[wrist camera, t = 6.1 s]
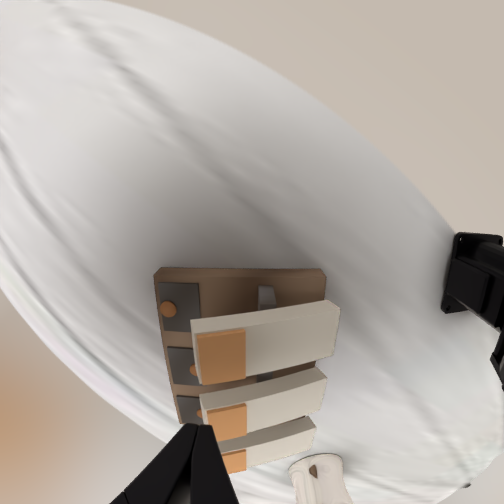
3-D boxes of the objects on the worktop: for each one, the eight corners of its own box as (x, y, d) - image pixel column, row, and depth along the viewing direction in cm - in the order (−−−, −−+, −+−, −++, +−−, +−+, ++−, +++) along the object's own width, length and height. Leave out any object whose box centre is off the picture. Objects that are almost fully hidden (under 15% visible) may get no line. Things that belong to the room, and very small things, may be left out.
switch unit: (320, 268, 17) (338, 293, 13) (300, 413, 20) (307, 448, 16) (160, 267, 17) (138, 291, 13) (182, 411, 20) (174, 446, 16)
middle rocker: (316, 366, 15) (329, 380, 14) (310, 398, 16) (321, 412, 15) (199, 394, 13) (205, 413, 12) (204, 426, 14) (210, 444, 12)
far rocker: (308, 415, 16) (318, 429, 15) (303, 438, 17) (311, 451, 16) (206, 440, 14) (212, 457, 13) (210, 461, 15) (215, 476, 13)
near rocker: (327, 299, 14) (343, 310, 13) (321, 344, 15) (335, 357, 13) (190, 319, 12) (194, 336, 10) (195, 368, 13) (200, 387, 11)
